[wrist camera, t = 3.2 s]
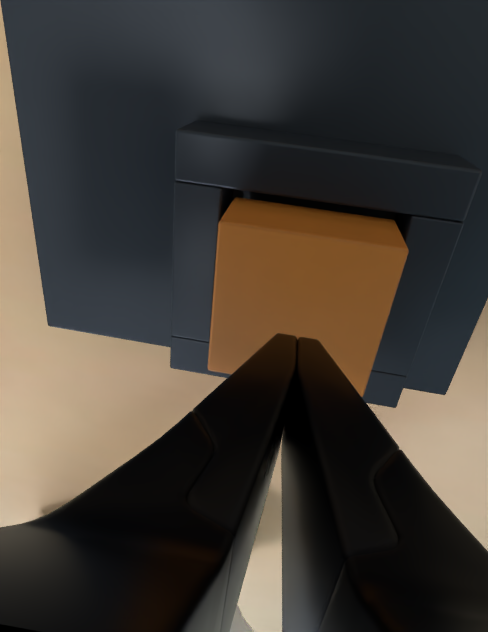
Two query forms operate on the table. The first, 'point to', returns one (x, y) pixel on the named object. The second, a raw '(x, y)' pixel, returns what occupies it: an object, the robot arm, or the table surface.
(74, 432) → the table surface
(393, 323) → the dark grey socket base
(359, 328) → the key
